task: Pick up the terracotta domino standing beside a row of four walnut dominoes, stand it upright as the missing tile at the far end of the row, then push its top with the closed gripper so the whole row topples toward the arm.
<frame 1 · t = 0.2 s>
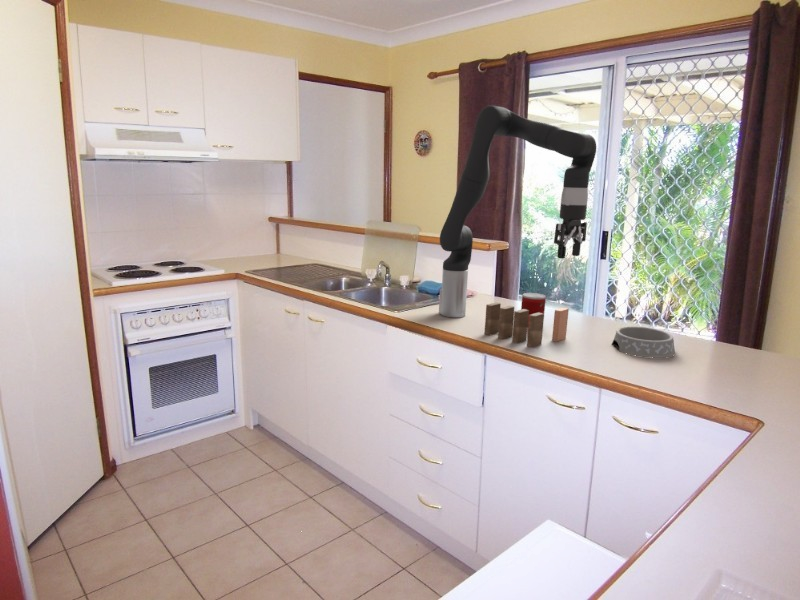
hand: (568, 256, 166), 28 cm above the worktop, tool pointing down, fingers open, 8 cm apart
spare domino: (558, 339, 176), on the worktop
domino 2: (505, 337, 177), on the worktop
canned food: (531, 326, 191), on the worktop
domino 1: (491, 333, 181), on the worktop
dog bowl: (642, 350, 169), on the worktop
domino 4: (534, 345, 169), on the worktop
domino 3: (519, 341, 173), on the worktop
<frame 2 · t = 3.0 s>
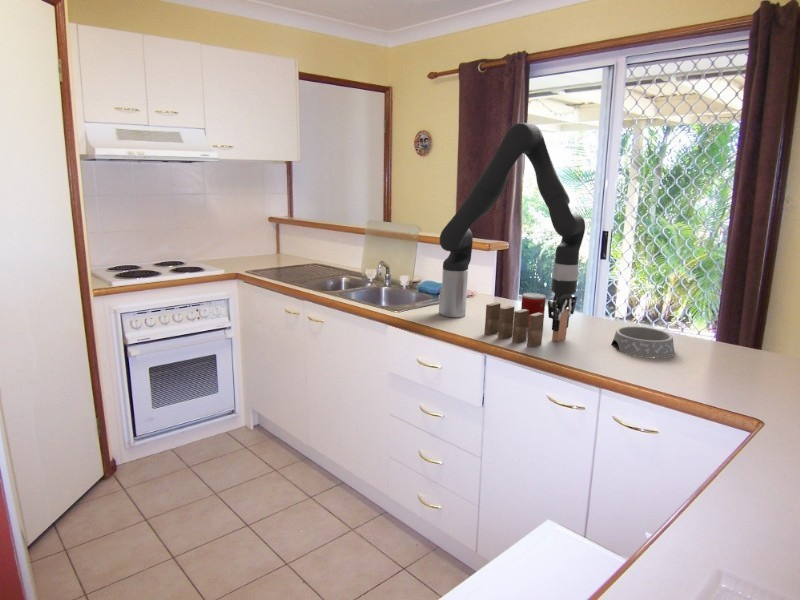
hand: (559, 329, 175), 3 cm above the worktop, tool pointing down, fingers closed on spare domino, 5 cm apart
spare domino: (558, 339, 176), on the worktop, touching gripper
everything else where it was.
when the fingers open (4 cm above the worktop, at t = 9.8 s): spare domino stays where it is, on the worktop.
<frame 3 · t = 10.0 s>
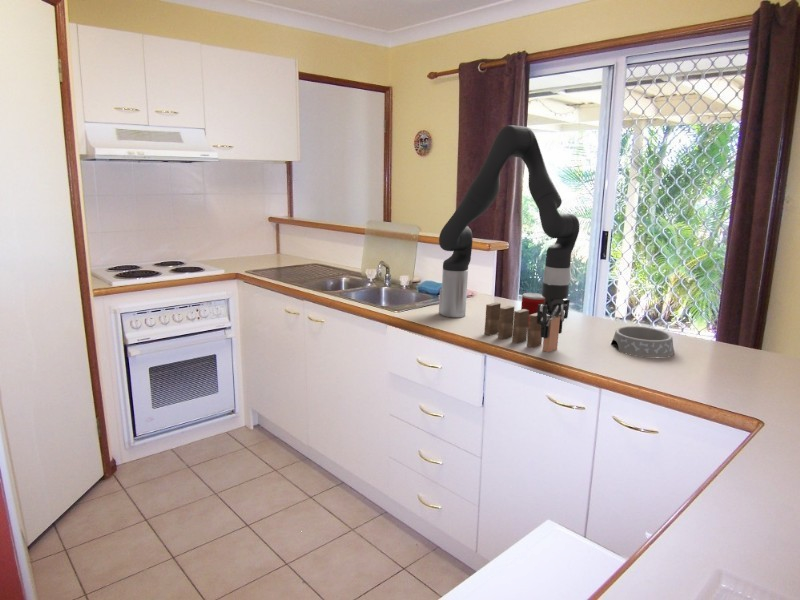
hand: (551, 335, 164), 5 cm above the worktop, tool pointing down, fingers open, 7 cm apart
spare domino: (549, 349, 165), on the worktop
everything else where it was.
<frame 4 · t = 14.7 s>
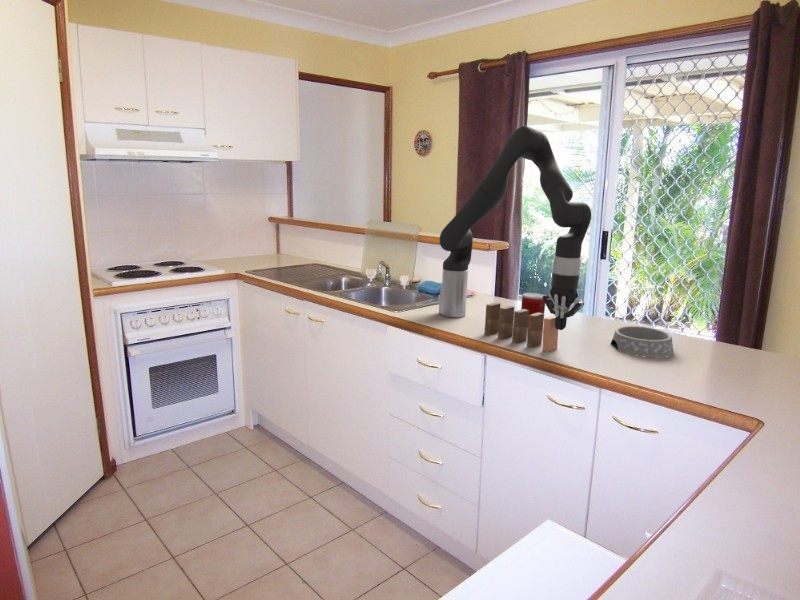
hand: (559, 329, 162), 7 cm above the worktop, tool pointing down, fingers closed
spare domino: (549, 349, 165), on the worktop, touching gripper
everything else where it was.
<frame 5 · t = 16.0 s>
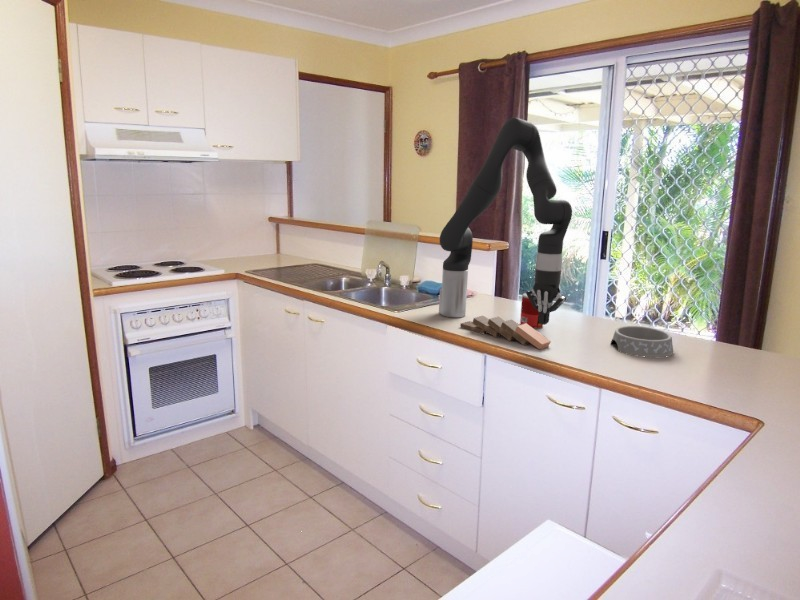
hand: (543, 323, 166), 7 cm above the worktop, tool pointing down, fingers closed
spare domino: (545, 345, 166), point 1 cm above the worktop, tilted 68°, touching domino 4
domino 2: (500, 333, 178), point 1 cm above the worktop, tilted 75°
domino 1: (488, 331, 181), on the worktop, tilted 90°
domino 4: (529, 341, 170), point 1 cm above the worktop, tilted 68°, touching domino 3, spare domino
domino 3: (515, 337, 174), point 1 cm above the worktop, tilted 69°, touching domino 4
everything else where it was.
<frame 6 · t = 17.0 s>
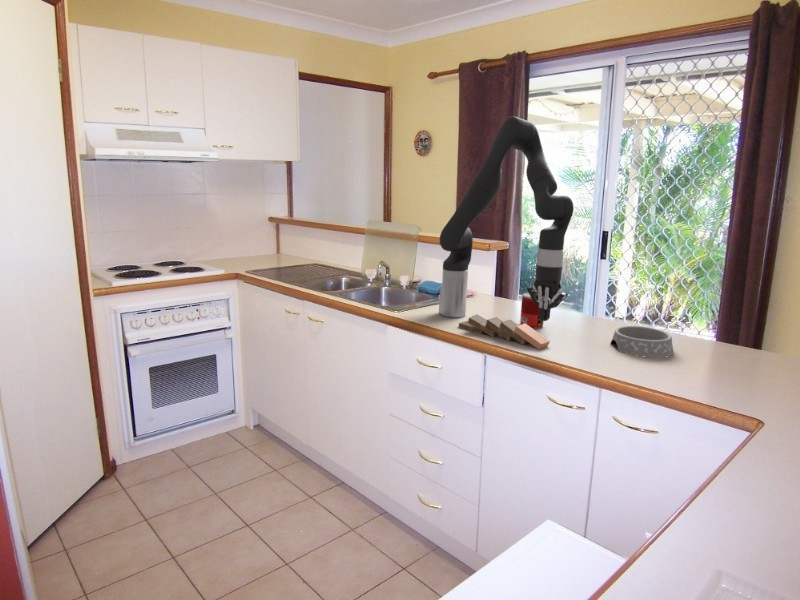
hand: (543, 320, 165), 9 cm above the worktop, tool pointing down, fingers closed
domino 2: (497, 332, 178), point 1 cm above the worktop, tilted 73°
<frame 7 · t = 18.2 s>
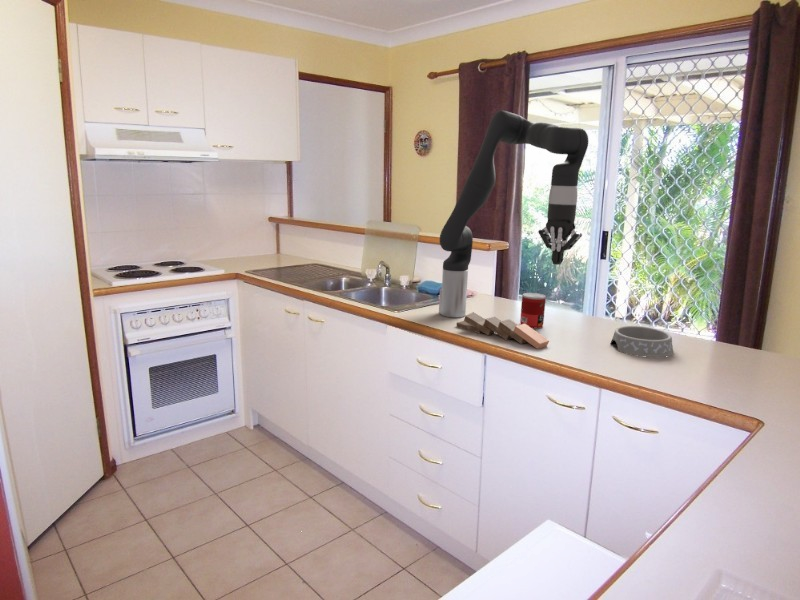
hand: (556, 264, 155), 27 cm above the worktop, tool pointing down, fingers closed
domino 2: (493, 330, 179), point 1 cm above the worktop, tilted 71°, touching domino 1, domino 3
domino 1: (484, 330, 182), on the worktop, tilted 90°, touching domino 2
domino 3: (512, 336, 175), point 1 cm above the worktop, tilted 71°, touching domino 2, domino 4
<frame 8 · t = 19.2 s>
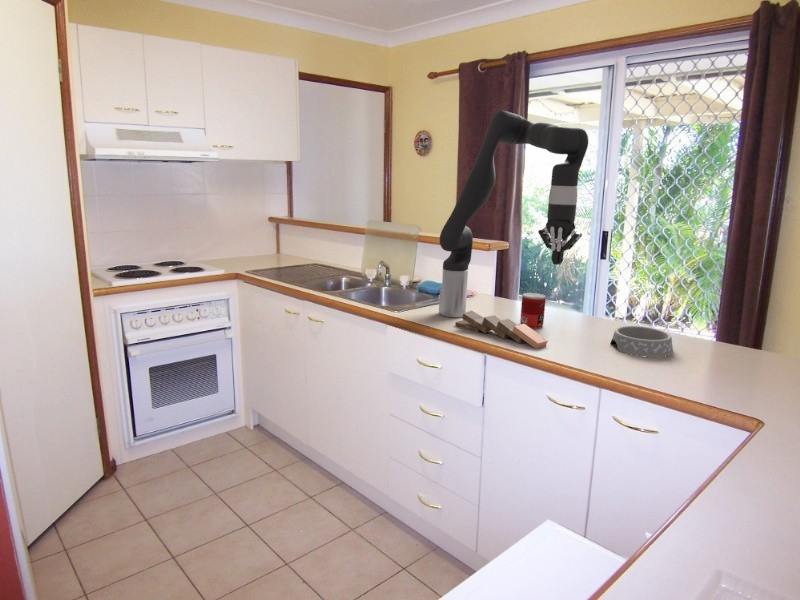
hand: (556, 264, 155), 27 cm above the worktop, tool pointing down, fingers closed
domino 2: (489, 328, 181), point 1 cm above the worktop, tilted 72°, touching domino 1, domino 3
domino 3: (509, 335, 176), point 1 cm above the worktop, tilted 70°, touching domino 2, domino 4
at the end: domino 1 tilted 90°; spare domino tilted 71°; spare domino inside the target area (2.7 cm from its centre), point 0.9 cm above the worktop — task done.
